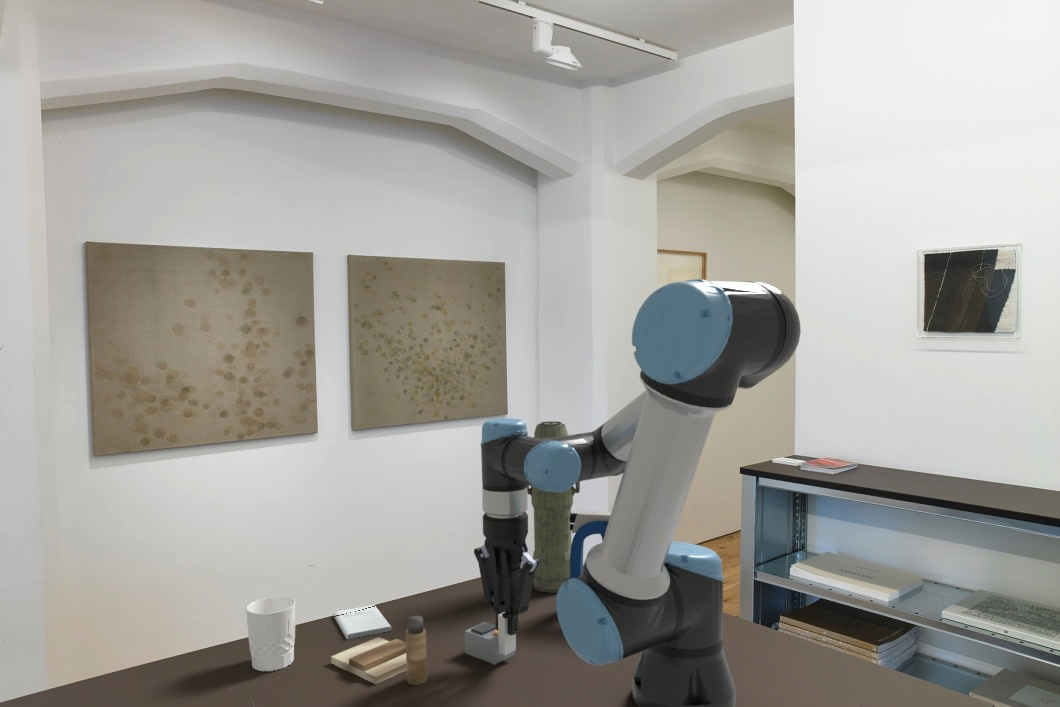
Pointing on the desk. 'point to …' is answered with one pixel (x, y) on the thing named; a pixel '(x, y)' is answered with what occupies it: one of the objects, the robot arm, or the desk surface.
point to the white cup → (271, 632)
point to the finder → (484, 643)
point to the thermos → (552, 525)
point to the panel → (374, 659)
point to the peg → (416, 651)
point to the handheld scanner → (584, 535)
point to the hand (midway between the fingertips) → (507, 651)
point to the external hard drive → (361, 622)
